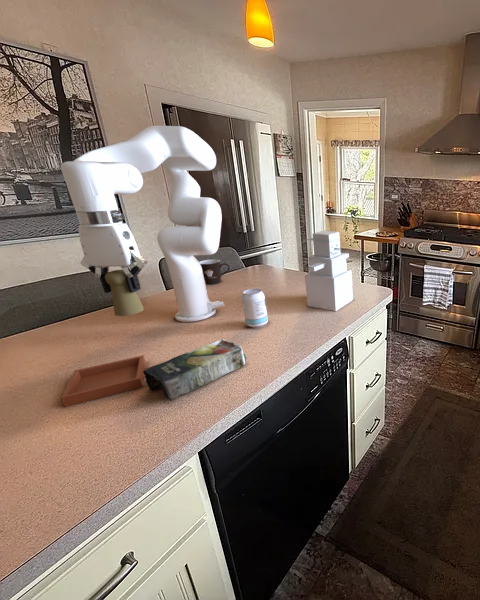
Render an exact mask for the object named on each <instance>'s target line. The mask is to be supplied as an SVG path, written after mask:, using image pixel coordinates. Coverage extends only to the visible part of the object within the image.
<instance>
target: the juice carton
mask: <svg viewBox="0 0 480 600" xmlns="http://www.w3.org/2000/svg"><path fill="white" fill-rule="evenodd" d="M246 361H247V355H246V354H245V353H244V352H243V348H242V346H240V345H239V344H235V342H233V341H228V340H225V339H224V338H221V339H219V340H215V341H213V342H211V343H209V344H208V343H207V344H205V345H202V346H200V347H198V348H194V349H192V350H189V351H187V352H184V353H182V354H180V355H177V356H174V357H172V358H170V359H168V360H166V361H163V362H159V363H157V364H155V365H153V366H150V367H147V368H145V370H144V371H143V373H144V378H145V381H146V385H147V388H148V390H149V391H155V390H156V389H159V388H161V389H162V393H163V396H165V398H167V400H169V401H173V400H172V399H177V398H179V396H180V395H183V394H188V393H190V392H192V391H194V390H197V389H199V388H201V387H203V386H206V385H208V384H209V383H212V382H214V381H216V380H218V379H220V378H221V377H223V376H226V375H227V374H229V373H233V372H235V371H236V370H238V369H240V368H241V367H243V366H244V365H246Z"/></svg>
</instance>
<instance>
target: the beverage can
mask: <svg viewBox="0 0 480 600" xmlns="http://www.w3.org/2000/svg"><path fill="white" fill-rule="evenodd" d="M241 303H242V307H243V308H242V310H243V315H244V321H245V325H246V326H247V327H250V328H253V329H255V328H257V329H258V328H260V327H263V326H265V325H266V324H267V323H268V321H269V319H268V311H267V305H266V304H267V303H266V297H265V294H264V292H263V291H262V289H261V288H249V289H245V290H244V291H242V294H241Z"/></svg>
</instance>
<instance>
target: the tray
mask: <svg viewBox="0 0 480 600" xmlns="http://www.w3.org/2000/svg"><path fill="white" fill-rule="evenodd" d="M146 365H147V361H146V359H145V355H143V354H142V355H139V356H134V357H129V358H126V359H120V360H116V361H111V362H106V363H102V364H97V365H93V366H89V367H84V368H80V369H76V370H74V371H73V373H72V375H71V377H70V379H69V381H68V383H67V385H66V387H65V389H64V392H63V393H62V395H61V397H60V399H61V401H62V403H63V405H64V407H65V408H66V407H70V406H74V405H79V404H81V403H86V402H89V401H93V400H94V401H95V400H97V399H102V398H106V397H109V396H112V395H116V394H120V393H124V392H129V391H132V390H135V389H140V388H143V385H144V378H145V375H144V373H143V371H144V370H146Z"/></svg>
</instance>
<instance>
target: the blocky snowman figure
mask: <svg viewBox="0 0 480 600" xmlns="http://www.w3.org/2000/svg"><path fill="white" fill-rule="evenodd" d="M306 241H311V242H312V245H313V255H309V256H308V266H307V267H308V268H307V271H309V272H307V273H305V274H304V282H305V292H306V302H307V307H312V308H316V309H322V310H327V311H334V312H337V311H338V310H340V309H342V308H343V307H345V306H346V305H348V304H350V303H351V302H352V301H354V294H353V293H354V291H353V290H354V289H353V271H352V269H348V268H347V264H348V263H347V259H348V258H350V253H348V252H343V253H342V252H341V237H340V231H332V230H321V231H316V232H313V233H312V237H310V238H307V239H306Z"/></svg>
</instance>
